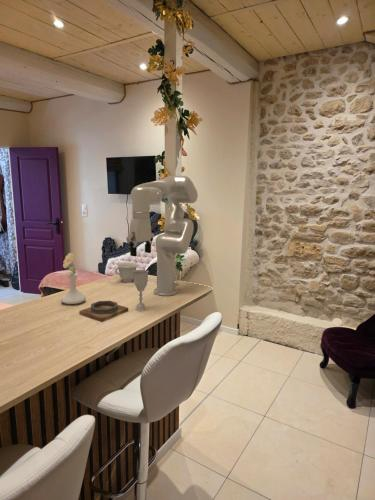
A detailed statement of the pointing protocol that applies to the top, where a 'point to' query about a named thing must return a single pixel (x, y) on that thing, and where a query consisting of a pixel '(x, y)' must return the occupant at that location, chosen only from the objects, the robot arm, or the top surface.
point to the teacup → (126, 271)
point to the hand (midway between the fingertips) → (140, 254)
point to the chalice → (140, 285)
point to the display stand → (103, 310)
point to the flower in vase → (72, 284)
